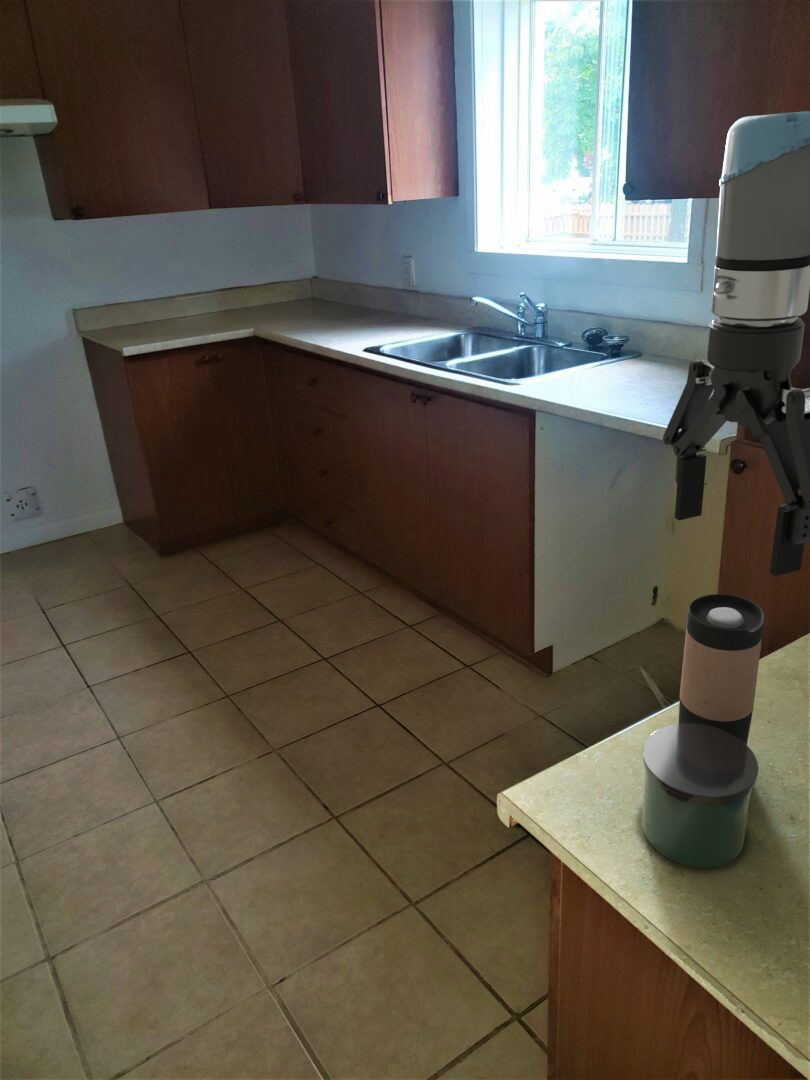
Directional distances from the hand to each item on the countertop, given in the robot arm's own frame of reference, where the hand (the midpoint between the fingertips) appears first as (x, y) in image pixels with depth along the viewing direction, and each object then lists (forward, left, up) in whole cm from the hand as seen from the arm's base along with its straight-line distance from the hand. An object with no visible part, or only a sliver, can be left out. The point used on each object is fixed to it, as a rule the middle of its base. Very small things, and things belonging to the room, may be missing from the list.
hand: (732, 542), depth 78 cm
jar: (+2, +8, -30) cm, 31 cm away
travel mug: (-1, -3, -30) cm, 30 cm away
